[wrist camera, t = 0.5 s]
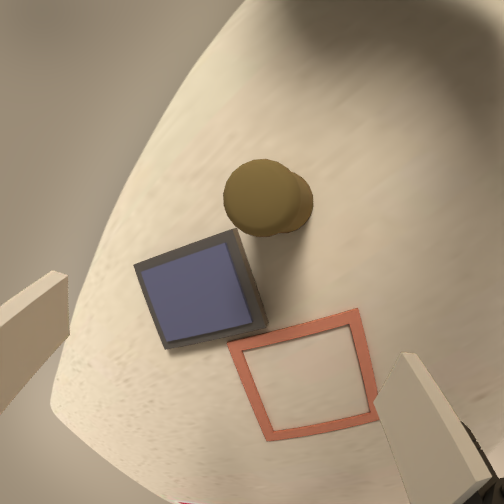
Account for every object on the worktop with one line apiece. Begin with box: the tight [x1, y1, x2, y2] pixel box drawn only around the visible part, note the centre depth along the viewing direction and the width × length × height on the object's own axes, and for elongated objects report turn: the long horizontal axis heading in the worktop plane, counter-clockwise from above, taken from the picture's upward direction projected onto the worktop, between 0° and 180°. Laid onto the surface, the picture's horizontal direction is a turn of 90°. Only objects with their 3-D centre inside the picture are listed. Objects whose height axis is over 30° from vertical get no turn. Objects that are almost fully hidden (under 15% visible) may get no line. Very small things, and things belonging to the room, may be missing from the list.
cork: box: [223, 159, 313, 237], centre depth 25 cm, size 6×6×11 cm
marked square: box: [227, 308, 380, 441], centre depth 31 cm, size 14×14×1 cm
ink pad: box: [134, 228, 269, 349], centre depth 32 cm, size 12×10×2 cm
